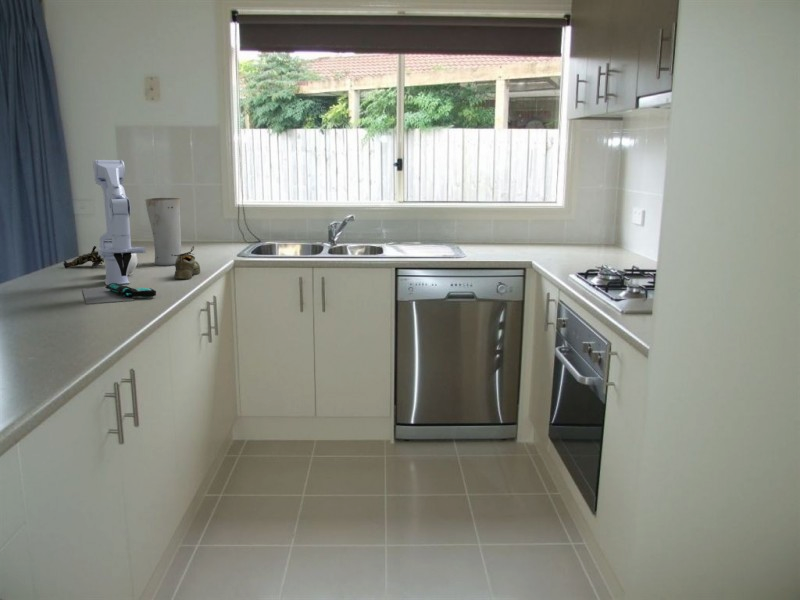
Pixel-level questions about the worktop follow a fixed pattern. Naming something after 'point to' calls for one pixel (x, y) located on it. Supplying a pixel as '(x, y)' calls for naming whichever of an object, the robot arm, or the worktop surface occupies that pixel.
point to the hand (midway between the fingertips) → (123, 275)
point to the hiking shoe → (186, 266)
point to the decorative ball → (131, 263)
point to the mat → (103, 296)
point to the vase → (165, 229)
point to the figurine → (86, 259)
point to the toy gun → (131, 291)
